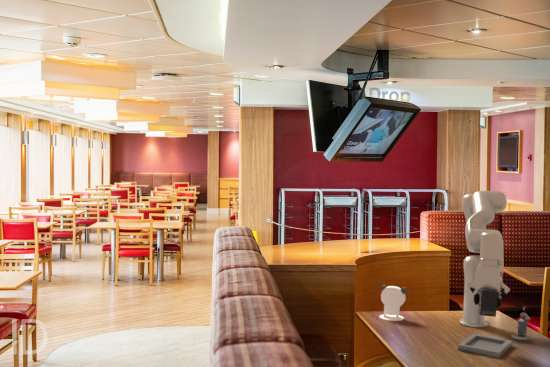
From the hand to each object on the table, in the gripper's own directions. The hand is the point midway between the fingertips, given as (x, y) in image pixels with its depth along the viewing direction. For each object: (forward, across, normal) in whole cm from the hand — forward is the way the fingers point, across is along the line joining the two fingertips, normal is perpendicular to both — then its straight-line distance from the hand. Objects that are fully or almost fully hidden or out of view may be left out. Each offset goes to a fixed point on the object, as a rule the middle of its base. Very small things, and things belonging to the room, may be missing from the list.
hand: (487, 305), depth 266 cm
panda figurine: (+18, +49, -20) cm, 56 cm away
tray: (+17, 0, 0) cm, 17 cm away
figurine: (+18, -9, -22) cm, 30 cm away
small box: (+3, 0, 0) cm, 3 cm away
